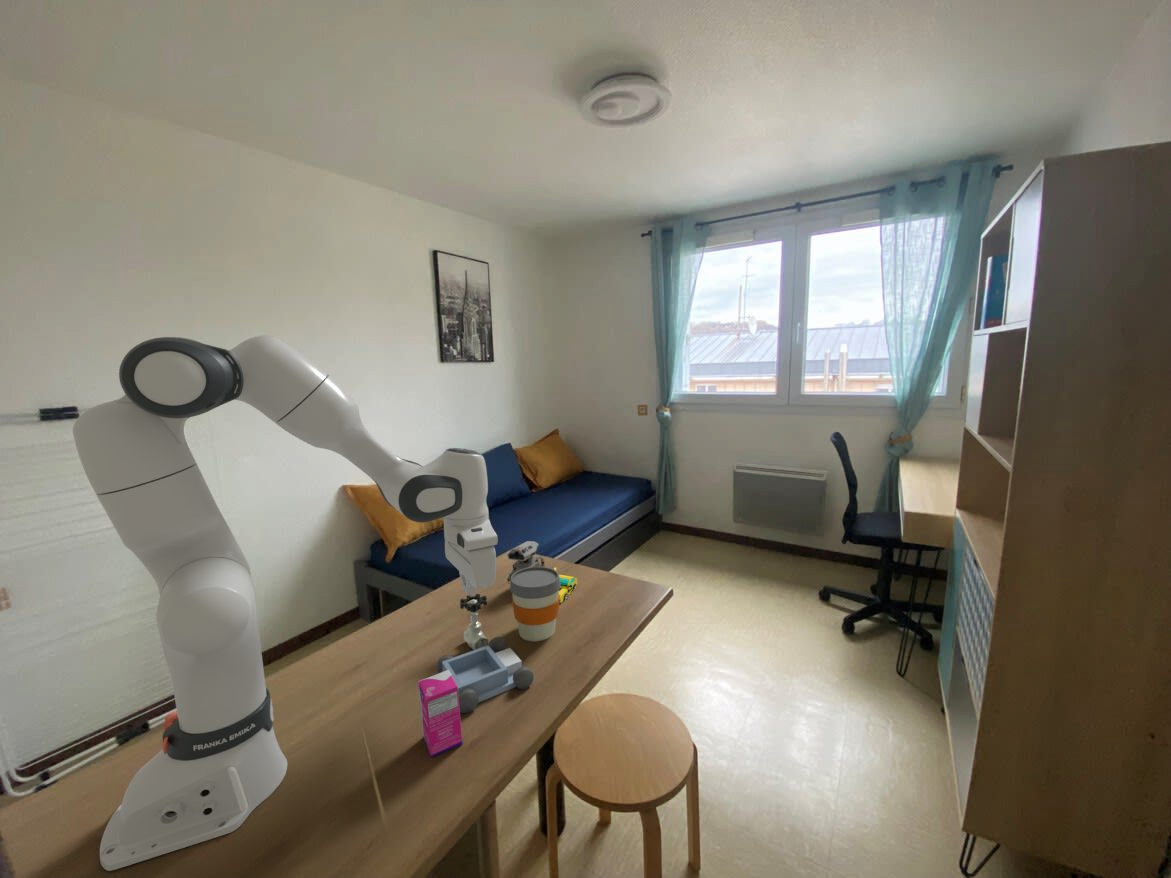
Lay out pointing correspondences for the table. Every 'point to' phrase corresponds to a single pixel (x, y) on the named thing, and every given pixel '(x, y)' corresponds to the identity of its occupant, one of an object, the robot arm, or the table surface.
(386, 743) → the table surface
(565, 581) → the toy car
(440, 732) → the supplement box
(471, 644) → the valve
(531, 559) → the figurine
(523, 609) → the reusable coffee cup
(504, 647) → the chassis
